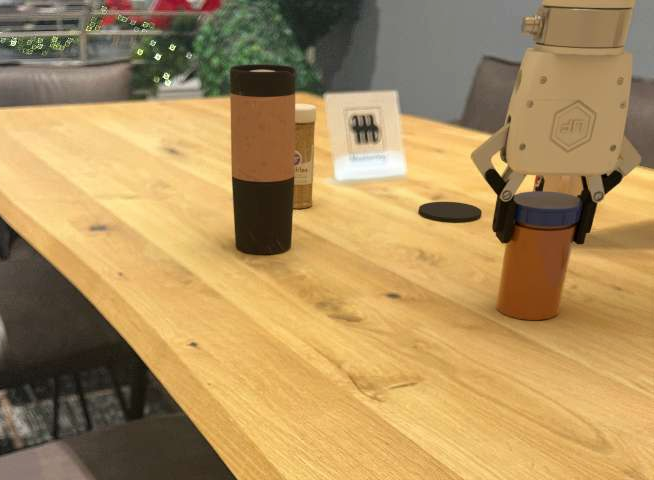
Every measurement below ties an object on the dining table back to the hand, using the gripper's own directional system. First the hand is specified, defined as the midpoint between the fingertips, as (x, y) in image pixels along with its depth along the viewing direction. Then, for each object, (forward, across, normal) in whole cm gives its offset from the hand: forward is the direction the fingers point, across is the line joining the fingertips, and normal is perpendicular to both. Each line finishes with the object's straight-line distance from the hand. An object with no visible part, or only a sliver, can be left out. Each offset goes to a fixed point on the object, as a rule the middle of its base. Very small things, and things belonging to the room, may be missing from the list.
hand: (538, 238), depth 77 cm
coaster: (+7, -1, +37) cm, 38 cm away
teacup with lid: (+8, +16, +40) cm, 44 cm away
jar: (+7, 0, 0) cm, 7 cm away
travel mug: (+8, -28, +21) cm, 36 cm away
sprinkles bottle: (+8, -23, +41) cm, 48 cm away
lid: (-3, 0, 0) cm, 3 cm away
